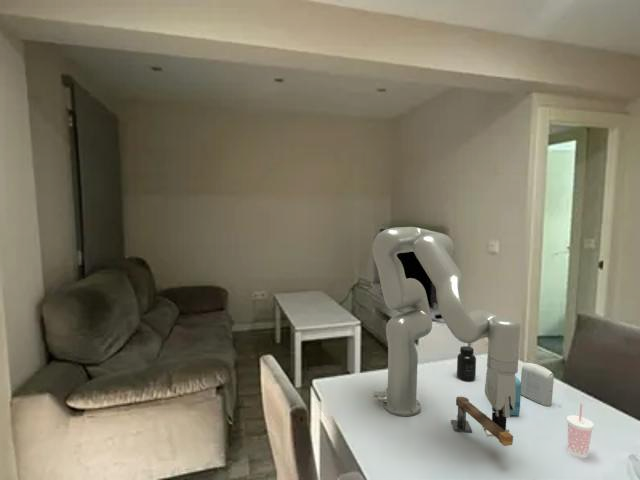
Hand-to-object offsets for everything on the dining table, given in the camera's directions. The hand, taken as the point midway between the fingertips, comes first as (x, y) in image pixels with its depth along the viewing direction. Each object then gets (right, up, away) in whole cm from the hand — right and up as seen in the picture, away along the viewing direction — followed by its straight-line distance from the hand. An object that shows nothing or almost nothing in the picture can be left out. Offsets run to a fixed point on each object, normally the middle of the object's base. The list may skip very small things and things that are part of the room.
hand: (498, 427), depth 105 cm
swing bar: (-4, 0, +3) cm, 4 cm away
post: (-6, -6, +12) cm, 14 cm away
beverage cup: (+22, -7, +1) cm, 23 cm away
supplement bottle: (+8, -3, +45) cm, 46 cm away
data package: (+13, -5, +24) cm, 27 cm away
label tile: (+4, -6, +10) cm, 12 cm away
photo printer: (+26, -5, +29) cm, 40 cm away
